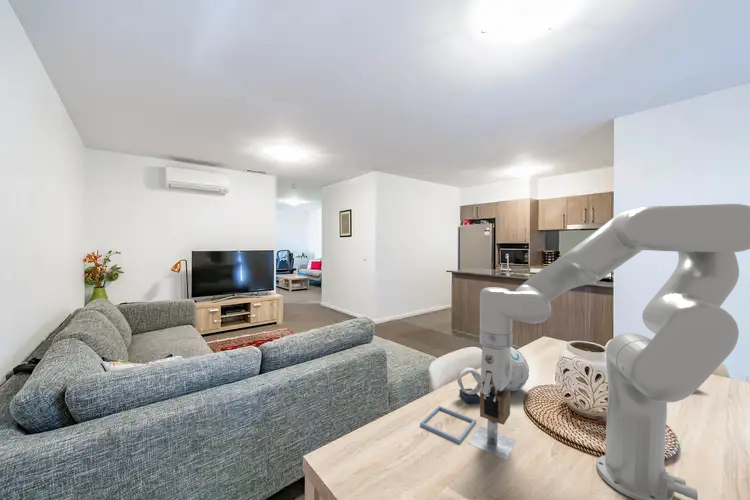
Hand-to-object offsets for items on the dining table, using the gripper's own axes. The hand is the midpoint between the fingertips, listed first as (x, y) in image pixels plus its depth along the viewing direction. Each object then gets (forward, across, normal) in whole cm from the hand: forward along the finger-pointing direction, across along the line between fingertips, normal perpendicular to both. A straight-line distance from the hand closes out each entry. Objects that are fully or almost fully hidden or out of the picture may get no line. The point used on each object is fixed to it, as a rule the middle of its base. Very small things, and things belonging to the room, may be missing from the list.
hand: (495, 409), depth 74 cm
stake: (+10, 0, +1) cm, 10 cm away
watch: (+10, +16, +13) cm, 23 cm away
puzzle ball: (+10, +33, +7) cm, 35 cm away
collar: (+1, 0, 0) cm, 1 cm away
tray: (+9, -1, +12) cm, 15 cm away
